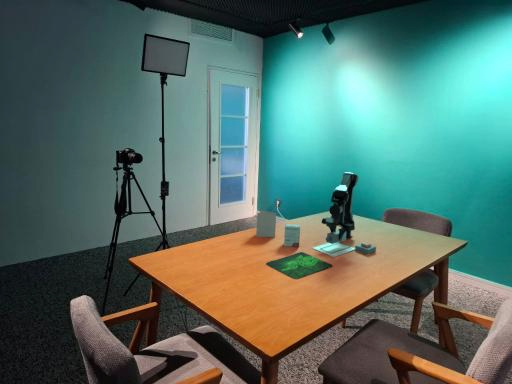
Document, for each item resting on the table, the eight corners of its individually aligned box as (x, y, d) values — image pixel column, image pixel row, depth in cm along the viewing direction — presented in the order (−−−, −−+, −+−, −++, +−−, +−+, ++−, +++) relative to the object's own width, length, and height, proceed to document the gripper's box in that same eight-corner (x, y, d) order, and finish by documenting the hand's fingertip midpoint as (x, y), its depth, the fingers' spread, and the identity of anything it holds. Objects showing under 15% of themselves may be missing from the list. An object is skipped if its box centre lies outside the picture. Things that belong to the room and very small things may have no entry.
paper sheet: (334, 241, 204) (334, 241, 204) (356, 249, 193) (356, 248, 193) (312, 248, 192) (312, 247, 192) (334, 257, 180) (334, 256, 180)
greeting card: (275, 236, 209) (276, 213, 206) (269, 240, 203) (270, 215, 200) (259, 233, 215) (260, 209, 212) (253, 236, 209) (254, 212, 206)
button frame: (363, 247, 196) (363, 242, 196) (375, 251, 190) (376, 246, 190) (354, 250, 191) (355, 245, 191) (367, 254, 185) (368, 249, 185)
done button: (364, 246, 193) (365, 241, 193) (370, 248, 190) (371, 243, 190) (360, 248, 191) (361, 243, 190) (366, 250, 188) (367, 245, 187)
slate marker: (339, 237, 198) (340, 229, 196) (345, 239, 194) (346, 231, 193) (324, 242, 189) (324, 233, 188) (330, 244, 186) (330, 236, 185)
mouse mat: (295, 281, 152) (295, 279, 152) (263, 264, 168) (263, 262, 168) (334, 266, 169) (334, 264, 169) (301, 253, 185) (301, 251, 185)
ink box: (298, 244, 198) (300, 224, 196) (299, 247, 193) (300, 227, 191) (283, 243, 199) (285, 223, 196) (283, 246, 194) (284, 226, 192)
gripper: (316, 210, 191) (314, 236, 194) (344, 218, 177) (341, 246, 180) (328, 207, 198) (326, 233, 201) (356, 214, 184) (353, 242, 187)
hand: (336, 238), depth 192 cm, fingers closed on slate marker, 4 cm apart
